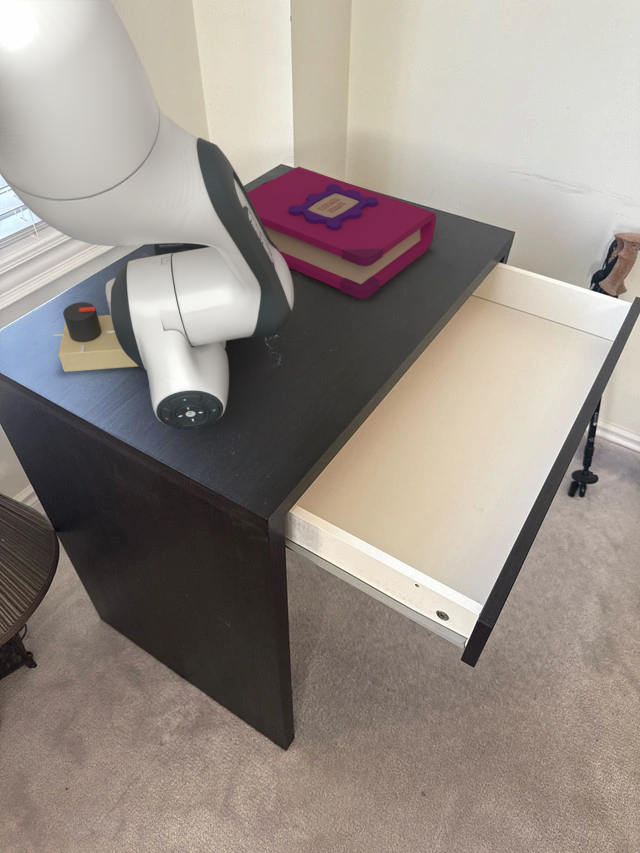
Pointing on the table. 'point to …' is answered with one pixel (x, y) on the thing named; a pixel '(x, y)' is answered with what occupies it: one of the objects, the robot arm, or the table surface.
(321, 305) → the table surface
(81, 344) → the panel
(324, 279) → the book
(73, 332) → the dial
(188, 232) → the robot arm
